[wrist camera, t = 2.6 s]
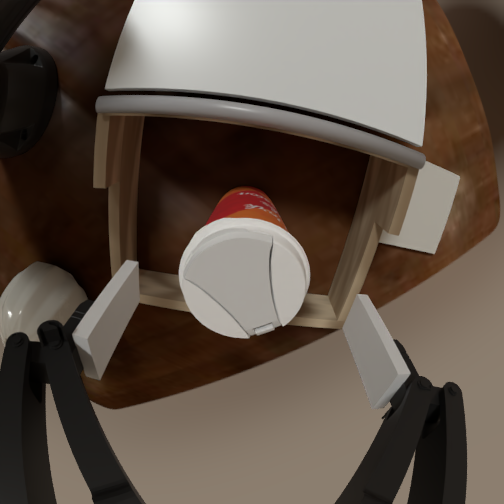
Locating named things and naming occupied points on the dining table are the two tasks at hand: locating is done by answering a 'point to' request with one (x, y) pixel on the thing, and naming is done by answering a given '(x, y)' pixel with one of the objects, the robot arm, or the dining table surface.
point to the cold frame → (167, 285)
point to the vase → (38, 300)
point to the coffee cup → (244, 267)
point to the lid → (281, 66)
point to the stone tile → (426, 210)
